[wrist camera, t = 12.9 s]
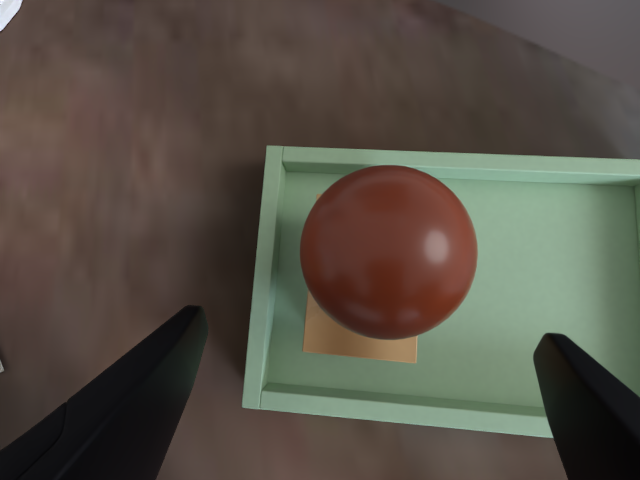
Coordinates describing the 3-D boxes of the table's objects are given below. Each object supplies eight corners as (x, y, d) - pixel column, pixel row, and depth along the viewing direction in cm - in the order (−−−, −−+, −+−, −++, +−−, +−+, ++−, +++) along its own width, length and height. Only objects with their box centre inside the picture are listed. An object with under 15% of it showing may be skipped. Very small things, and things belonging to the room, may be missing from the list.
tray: (639, 175, 18) (678, 160, 16) (656, 432, 16) (702, 452, 14) (274, 161, 19) (266, 144, 17) (253, 394, 18) (241, 408, 16)
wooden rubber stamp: (409, 218, 18) (555, 41, 5) (402, 350, 17) (560, 503, 4) (321, 211, 18) (270, 33, 6) (310, 341, 17) (219, 458, 5)
